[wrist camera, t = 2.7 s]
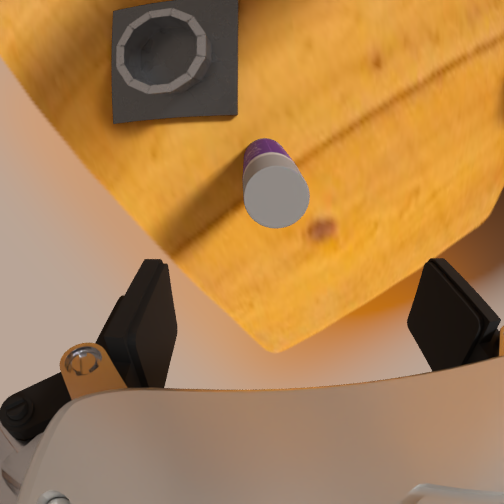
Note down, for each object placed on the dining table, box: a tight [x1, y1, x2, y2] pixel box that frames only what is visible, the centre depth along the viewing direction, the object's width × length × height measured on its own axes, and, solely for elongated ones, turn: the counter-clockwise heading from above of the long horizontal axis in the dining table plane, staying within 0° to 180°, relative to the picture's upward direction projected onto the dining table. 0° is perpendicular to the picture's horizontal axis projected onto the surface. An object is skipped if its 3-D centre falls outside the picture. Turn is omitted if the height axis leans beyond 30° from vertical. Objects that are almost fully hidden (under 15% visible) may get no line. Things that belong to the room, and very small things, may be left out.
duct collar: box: [112, 0, 238, 124], centre depth 26 cm, size 14×14×6 cm
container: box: [243, 138, 309, 228], centre depth 28 cm, size 5×5×15 cm
